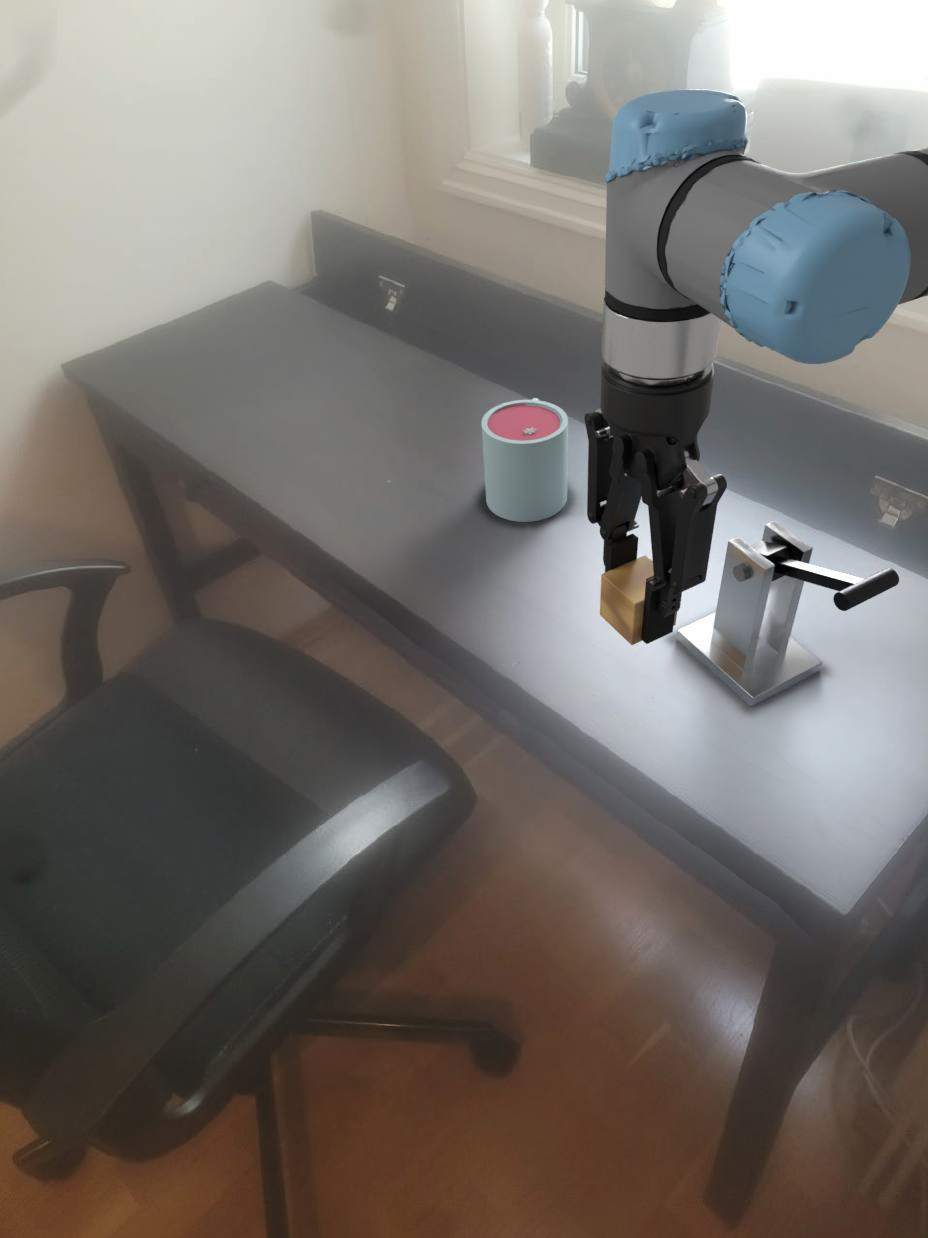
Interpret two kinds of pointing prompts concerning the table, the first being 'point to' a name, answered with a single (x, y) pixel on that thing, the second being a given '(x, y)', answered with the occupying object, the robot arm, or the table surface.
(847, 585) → the lever
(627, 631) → the block
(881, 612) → the table surface
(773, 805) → the table surface
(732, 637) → the bracket
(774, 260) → the robot arm
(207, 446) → the table surface
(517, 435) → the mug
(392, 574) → the table surface
